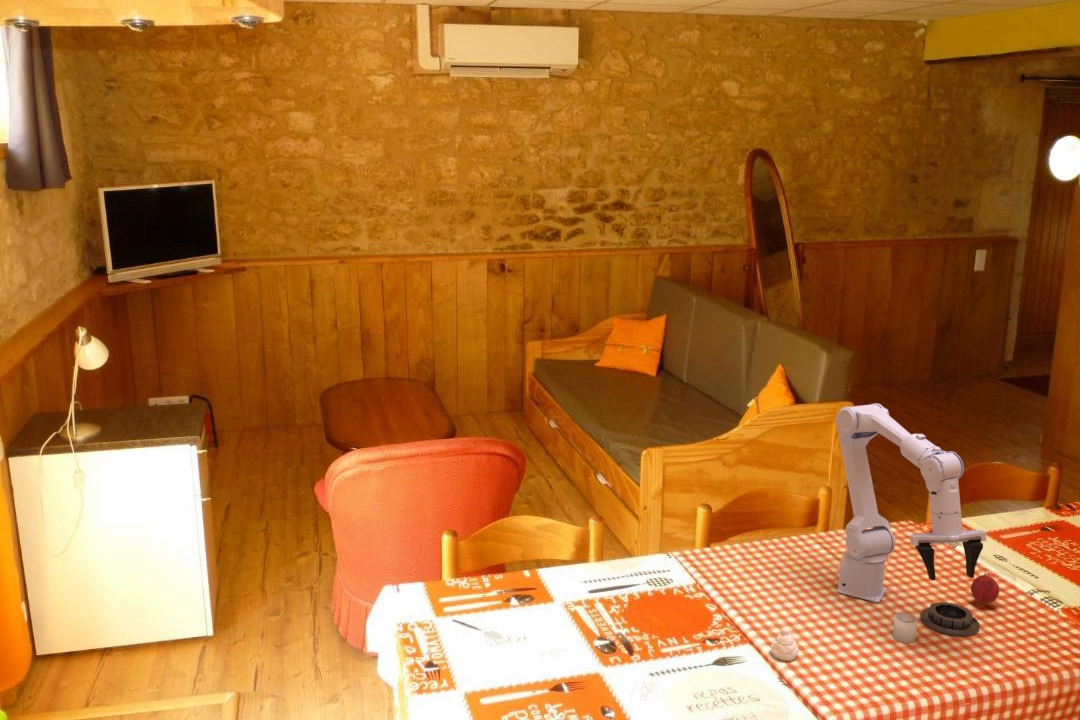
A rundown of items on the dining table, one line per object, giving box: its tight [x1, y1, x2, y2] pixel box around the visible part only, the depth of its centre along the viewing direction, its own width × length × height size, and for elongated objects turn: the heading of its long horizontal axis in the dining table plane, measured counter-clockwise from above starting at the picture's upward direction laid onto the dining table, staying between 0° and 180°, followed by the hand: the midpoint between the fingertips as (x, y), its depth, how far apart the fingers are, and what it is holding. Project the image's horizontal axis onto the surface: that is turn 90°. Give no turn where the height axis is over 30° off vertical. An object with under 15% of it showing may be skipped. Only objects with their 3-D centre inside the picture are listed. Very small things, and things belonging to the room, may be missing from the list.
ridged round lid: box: [919, 601, 981, 638], centre depth 209 cm, size 12×12×3 cm
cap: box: [892, 612, 919, 644], centre depth 202 cm, size 5×5×5 cm
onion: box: [970, 570, 1000, 606], centre depth 216 cm, size 6×6×8 cm
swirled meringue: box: [770, 627, 800, 662], centre depth 194 cm, size 6×6×5 cm
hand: (951, 577), depth 196 cm, fingers open, 7 cm apart
